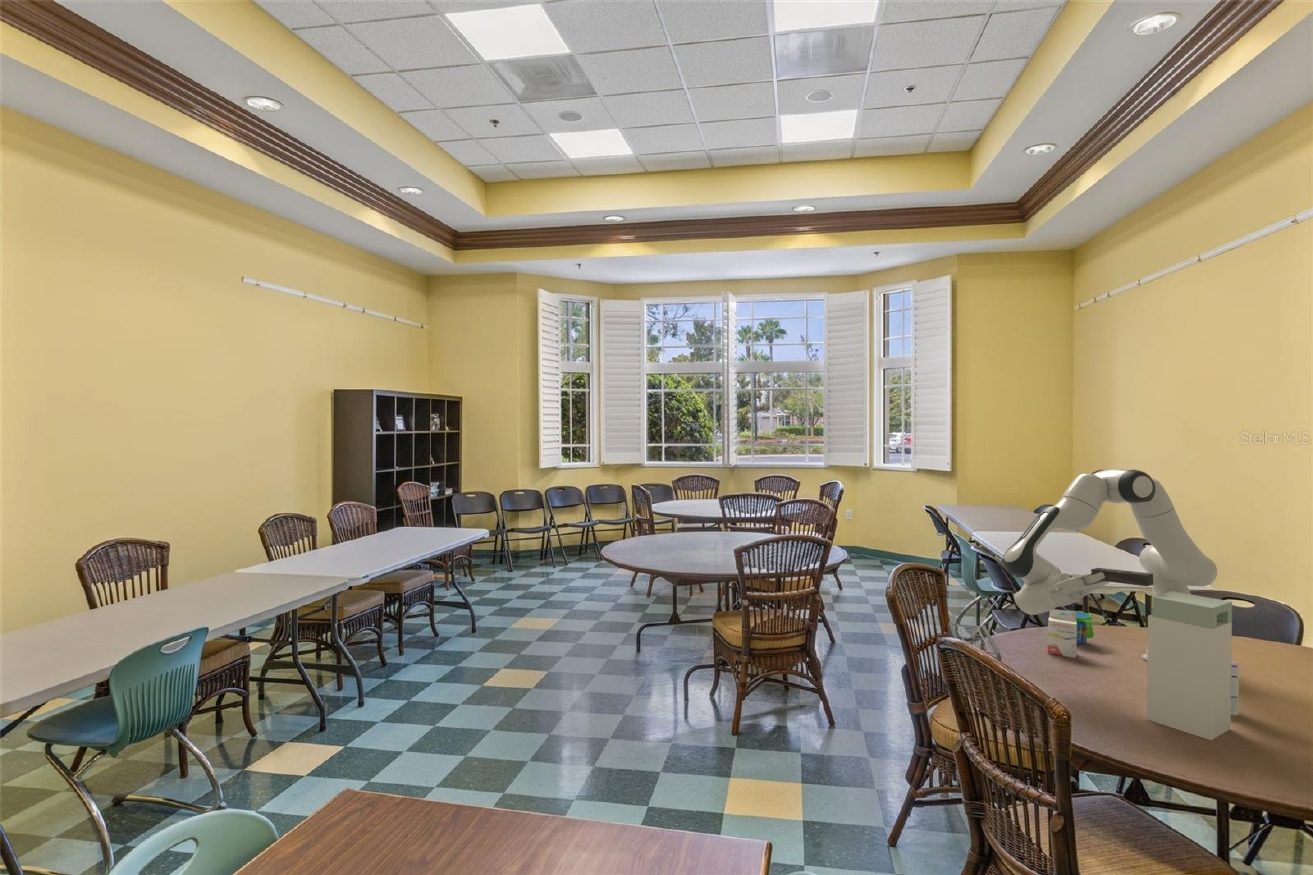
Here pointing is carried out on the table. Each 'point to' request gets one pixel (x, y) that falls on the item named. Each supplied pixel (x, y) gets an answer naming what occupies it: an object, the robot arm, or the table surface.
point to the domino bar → (1125, 576)
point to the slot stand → (1190, 663)
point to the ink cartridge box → (1062, 633)
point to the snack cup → (1082, 626)
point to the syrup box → (1234, 688)
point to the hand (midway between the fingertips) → (1109, 573)
